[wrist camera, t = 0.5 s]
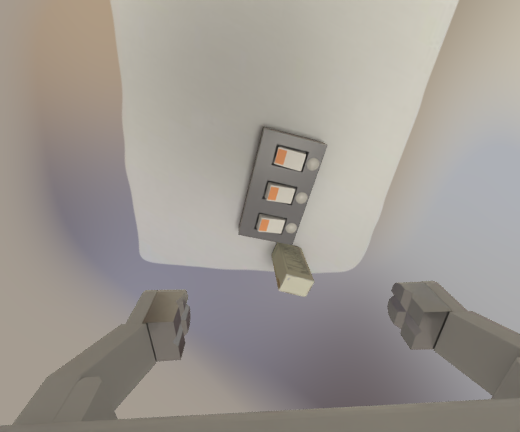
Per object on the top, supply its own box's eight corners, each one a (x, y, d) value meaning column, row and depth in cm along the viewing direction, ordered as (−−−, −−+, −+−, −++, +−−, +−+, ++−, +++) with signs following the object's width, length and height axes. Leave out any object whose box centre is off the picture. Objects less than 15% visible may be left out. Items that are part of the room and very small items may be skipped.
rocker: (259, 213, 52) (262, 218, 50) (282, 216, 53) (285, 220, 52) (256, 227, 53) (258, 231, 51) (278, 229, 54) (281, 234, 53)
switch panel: (263, 126, 47) (264, 128, 44) (322, 142, 49) (327, 145, 46) (238, 226, 56) (238, 234, 53) (289, 237, 58) (292, 245, 55)
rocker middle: (268, 181, 49) (271, 185, 47) (292, 185, 50) (295, 189, 49) (264, 196, 50) (266, 200, 48) (287, 200, 52) (291, 204, 50)
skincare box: (270, 255, 60) (276, 290, 49) (277, 240, 58) (284, 273, 47) (295, 262, 61) (306, 298, 50) (302, 248, 59) (315, 282, 48)
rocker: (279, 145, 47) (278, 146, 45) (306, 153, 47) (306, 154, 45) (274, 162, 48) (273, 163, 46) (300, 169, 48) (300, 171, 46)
